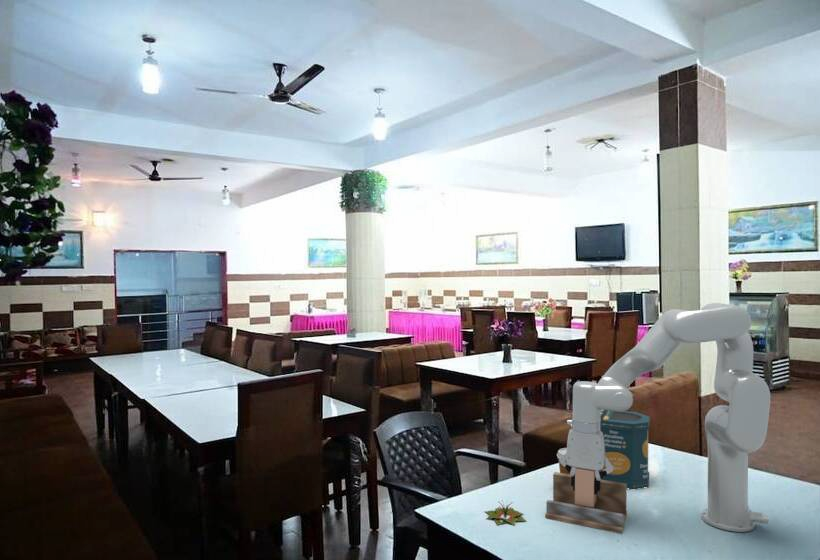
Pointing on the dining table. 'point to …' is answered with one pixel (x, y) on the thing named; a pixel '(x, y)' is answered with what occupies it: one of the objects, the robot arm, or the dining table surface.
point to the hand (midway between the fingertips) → (585, 490)
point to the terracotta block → (584, 487)
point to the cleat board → (602, 516)
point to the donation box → (626, 447)
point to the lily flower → (505, 514)
